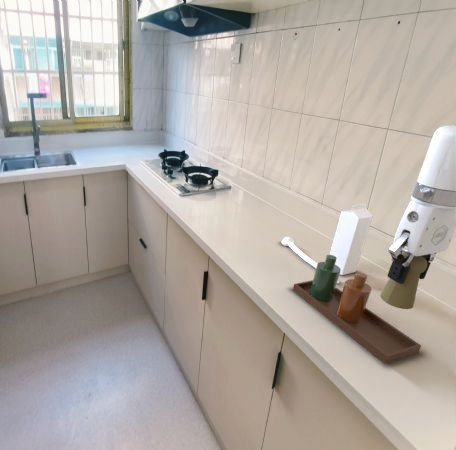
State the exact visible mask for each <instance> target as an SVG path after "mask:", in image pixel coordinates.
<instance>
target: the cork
mask: <svg viewBox="0 0 456 450" xmlns="http://www.w3.org/2000/svg"><path fill="white" fill-rule="evenodd" d="M402 255H404V257H405V258H406V257H407V255H408V254H407V253H405V252H402ZM408 266H409V267H410V269H409V272H408V274H407V277H406V279H405V282H404V283H403V284H399V283H398V282H396V281H394V280H392V279H390V278H388V281H387V283H386V284H385V286H384V287H383V290H381V293H380V295H379V297H380V299H381V300H382V301H383V302H384V303H386V304H388V305H390V306H391V307H393V308H397V309H401V310H411V309H413V308H414V305H415V301H416V295H417V291H418V287H419V281H420V279H419V277H420V273H422V272H424V271H425V270H426V268H427V261H426V259H425V258H424V257H422V256H414V257H413V259H412V260H411V262H410V264H409V265H408Z"/></svg>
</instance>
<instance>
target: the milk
mask: <svg viewBox="0 0 456 450" xmlns="http://www.w3.org/2000/svg"><path fill="white" fill-rule="evenodd" d="M373 217H374V216H373V215H372V213H371V212H370V211H369V210H368V209H367V202H363V203H356V204H353V205H352V206H351V209H348V210H342V211H341V212H340V215H339V219H338V223H337V226H336V230H335V233H334V237H333V241H332V244H331V248H330V250H329V251H330V252H329V255H333V256H335V257H336V258H337V259H336V263H335V265H337V266H338V267H339V268H340V269H341V271H340V274H339V276H340V275H341V276H345V275H348V274H352V273H356V272H357V268H358V265H359V262H360V259H361V256H362V253H363V249H364V246H365V242H366V240H367V237H368V233H369V230H370V227H371V224H372V221H373Z"/></svg>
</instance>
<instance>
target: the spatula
mask: <svg viewBox="0 0 456 450" xmlns="http://www.w3.org/2000/svg"><path fill="white" fill-rule="evenodd" d="M281 245H283V246H284V247H289V248H290V249H291V250H292V251H293V252H294V253H295V254H296V255H298V256H299V257H300V258H301V259H302V260H303V261H305V262H306V263H307V264H309V265H310V266H311V267H313V268H314V269H316V267H317V264H318V263H319V262H317V261H315V260H314V259H312V258H310V257H309V256H308V255H307V254H306V253H305V252H303V251H302V250H301V249H300V248H299V247H298V246H297V245H296V244H295V243H294V239H293V238H292V237H290V236H286V237H283V239H282V240H281ZM337 284H340V280H339V279H338V281H337ZM337 284H336V285H337Z"/></svg>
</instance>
